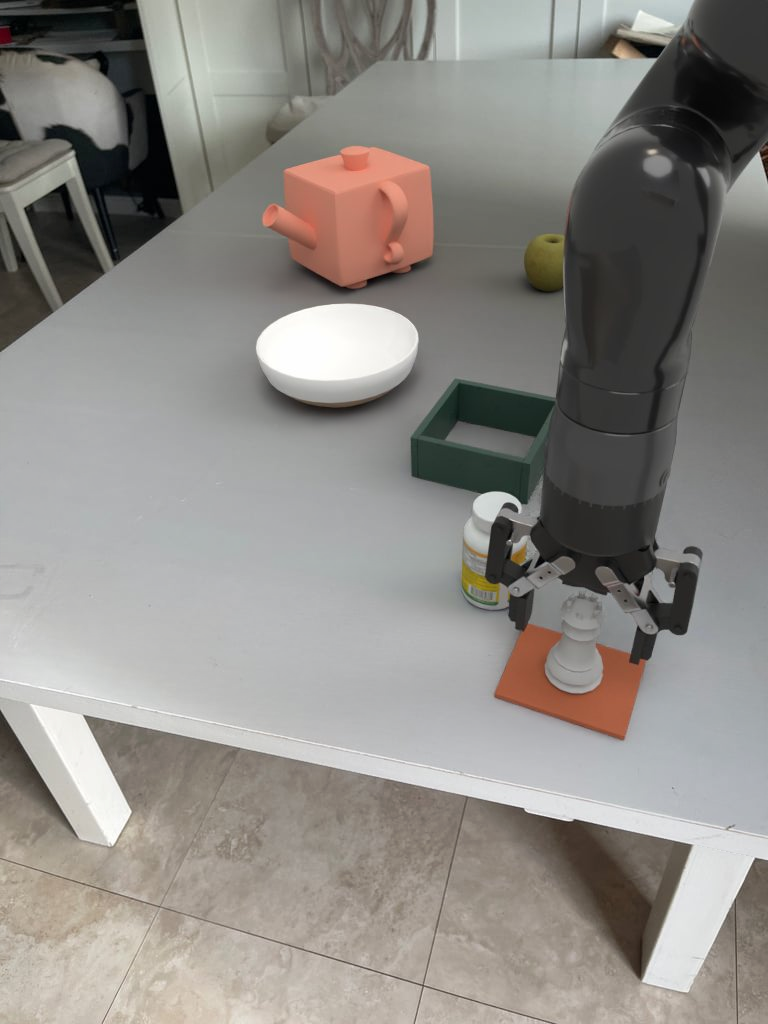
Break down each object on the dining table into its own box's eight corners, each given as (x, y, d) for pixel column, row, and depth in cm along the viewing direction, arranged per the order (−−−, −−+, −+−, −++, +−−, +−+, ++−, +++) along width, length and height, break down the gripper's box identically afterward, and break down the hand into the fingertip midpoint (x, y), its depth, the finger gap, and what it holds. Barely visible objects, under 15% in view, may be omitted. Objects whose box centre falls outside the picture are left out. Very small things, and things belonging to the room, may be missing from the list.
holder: (560, 437, 89) (565, 399, 86) (526, 504, 81) (530, 464, 77) (454, 415, 94) (454, 377, 90) (411, 476, 85) (410, 437, 82)
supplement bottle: (472, 617, 69) (475, 533, 63) (453, 575, 73) (454, 492, 67) (531, 604, 70) (540, 520, 64) (509, 564, 74) (515, 481, 68)
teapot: (315, 322, 114) (301, 193, 102) (238, 273, 128) (219, 155, 117) (451, 273, 124) (452, 152, 113) (367, 233, 139) (360, 122, 127)
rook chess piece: (614, 681, 63) (629, 610, 58) (569, 706, 61) (581, 635, 56) (576, 644, 66) (587, 573, 61) (532, 667, 64) (540, 596, 59)
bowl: (232, 382, 102) (224, 338, 98) (353, 332, 111) (350, 289, 107) (325, 447, 90) (320, 400, 86) (452, 384, 99) (452, 339, 95)
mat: (645, 662, 65) (646, 658, 64) (624, 740, 59) (625, 736, 59) (525, 626, 68) (525, 622, 68) (494, 697, 63) (494, 693, 62)
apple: (580, 279, 121) (585, 232, 116) (565, 301, 115) (571, 252, 111) (531, 272, 123) (534, 226, 119) (515, 293, 118) (518, 246, 113)
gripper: (734, 455, 50) (684, 631, 61) (514, 411, 55) (502, 581, 66) (718, 528, 45) (666, 707, 55) (477, 472, 50) (471, 646, 60)
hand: (577, 638), depth 60 cm, fingers open, 8 cm apart
